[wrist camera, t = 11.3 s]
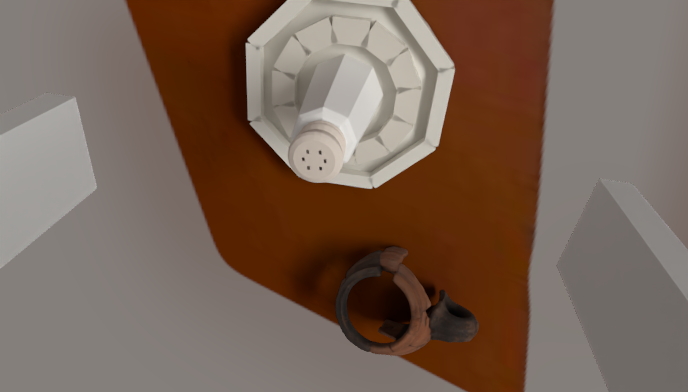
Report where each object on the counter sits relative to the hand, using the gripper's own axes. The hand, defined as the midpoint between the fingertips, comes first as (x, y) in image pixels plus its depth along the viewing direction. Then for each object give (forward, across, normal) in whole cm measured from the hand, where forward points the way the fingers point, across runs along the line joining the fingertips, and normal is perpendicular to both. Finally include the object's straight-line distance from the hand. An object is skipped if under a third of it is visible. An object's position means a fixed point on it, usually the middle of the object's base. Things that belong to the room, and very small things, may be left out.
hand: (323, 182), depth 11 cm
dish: (+21, -2, -5) cm, 22 cm away
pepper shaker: (+20, -2, -5) cm, 21 cm away
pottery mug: (+21, +6, -22) cm, 31 cm away
